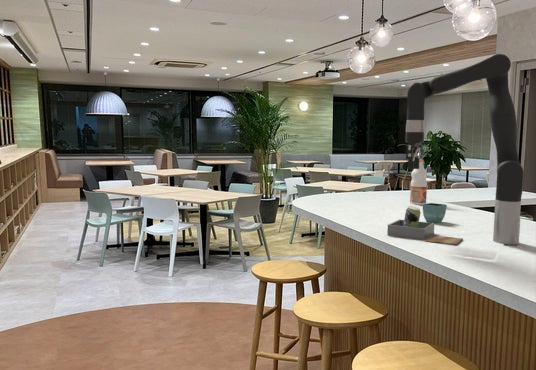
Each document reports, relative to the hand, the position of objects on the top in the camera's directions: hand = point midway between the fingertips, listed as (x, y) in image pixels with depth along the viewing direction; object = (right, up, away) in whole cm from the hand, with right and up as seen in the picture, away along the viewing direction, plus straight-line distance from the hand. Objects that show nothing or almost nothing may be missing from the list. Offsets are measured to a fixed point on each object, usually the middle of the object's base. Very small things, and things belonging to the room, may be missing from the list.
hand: (413, 169), depth 203 cm
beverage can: (0, -28, +3) cm, 28 cm away
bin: (0, -28, +3) cm, 28 cm away
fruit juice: (+29, -20, +86) cm, 93 cm away
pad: (+10, -29, -9) cm, 32 cm away
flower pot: (+20, -25, +32) cm, 45 cm away
